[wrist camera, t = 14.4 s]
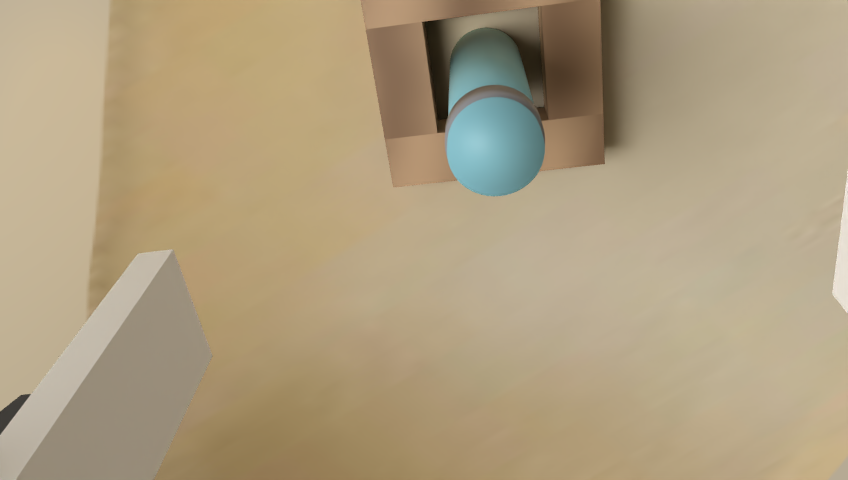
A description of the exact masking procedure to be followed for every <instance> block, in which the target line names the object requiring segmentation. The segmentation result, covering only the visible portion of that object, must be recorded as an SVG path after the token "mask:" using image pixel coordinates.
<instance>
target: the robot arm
mask: <svg viewBox="0 0 848 480" xmlns="http://www.w3.org/2000/svg"><path fill="white" fill-rule="evenodd" d="M832 294H833V296H834V297H835V298H836V299H837V301H838V302H839V303H840V304H841V306H842V307H843V308H844V310H845V311H846V312H847V313H848V173H847V181H846V189H845V197H844V205H843V213H842V221H841V229H840V236H839V244H838V252H837V260H836V268H835V276H834V284H833V292H832ZM211 358H212V353H211V351H210V348H209V345H208V343H207V340H206V337H205V334H204V332H203V329H202V326H201V323H200V321H199V318H198V315H197V313H196V310H195V307H194V304H193V302H192V299H191V296H190V294H189V291H188V288H187V285H186V283H185V280H184V277H183V275H182V272H181V269H180V266H179V264H178V261H177V258H176V256H175V253H174V250H173V249H172V250H163V251H155V252H147V253H138V254H137V256H136V257H135V258H134V259H133V261H132V262H131V263H130V265H129V266H128V267H127V269H126V270H125V271H124V273H123V274H122V275H121V277H120V278H119V279H118V281H117V282H116V283H115V284H114V286H113V287H112V288H111V290H110V291H109V292H108V294H107V295H106V296H105V298H104V299H103V300H102V302H101V303H100V304H99V306H98V307H97V308H96V309H95V311H94V312H93V313H92V315H91V316H90V317H89V319H88V320H87V321H86V323H85V324H84V325H83V327H82V328H81V329H80V331H79V332H78V333H77V334H76V336H75V337H74V339H73V340H72V341H71V342H70V344H69V345H68V346H67V348H66V349H65V350H64V352H63V353H62V354H61V356H60V357H59V358H58V360H57V361H56V362H55V363H54V365H53V366H52V367H51V369H50V370H49V371H48V373H47V374H46V375H45V377H44V378H43V379H42V381H41V382H40V383H39V385H38V386H37V387H36V388H35V390H34V391H33V392H32V394H27V395H21V396H19V397H18V398H17V399H16V400H14V401H13V402H12V403H10V404H9V405H8V406H7V407H5V408H4V409H3V410H2V411H0V480H154V478H155V476H156V474H157V472H158V470H159V468H160V465H161V463H162V461H163V459H164V457H165V455H166V453H167V451H168V449H169V446H170V444H171V442H172V440H173V438H174V436H175V434H176V432H177V430H178V427H179V425H180V423H181V421H182V419H183V417H184V415H185V413H186V411H187V408H188V406H189V404H190V402H191V400H192V398H193V396H194V394H195V392H196V389H197V387H198V385H199V383H200V381H201V379H202V377H203V375H204V373H205V370H206V368H207V366H208V364H209V362H210V360H211Z"/></svg>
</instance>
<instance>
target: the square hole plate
mask: <svg viewBox="0 0 848 480" xmlns="http://www.w3.org/2000/svg"><path fill="white" fill-rule="evenodd" d="M361 5H362V10H363V16H364V22H365V28H366V33H367V39H368V45H369V51H370V56H371V62H372V68H373V73H374V79H375V85H376V91H377V96H378V102H379V108H380V114H381V119H382V125H383V131H384V137H385V142H386V148H387V154H388V160H389V165H390V171H391V177H392V183H393V187H401V186H410V185H419V184H428V183H437V182H446V181H455V180H457V179H456V177H455V176H454V174H453V173H452V171H451V169H450V166H449V163H448V158H447V155H446V151H445V126H446V121H447V119H443V120H438V114H437V107H436V99H435V92H434V85H433V77H432V70H431V63H430V55H429V48H428V41H427V33H426V26H425V21H432V20H440V19H447V18H455V17H462V16H470V15H477V14H485V13H492V12H500V11H507V10H515V9H522V8H529V7H537V6H538V16H539V31H540V47H541V62H542V77H543V93H544V107H543V108H537V110H538V112H539V115H540V118H541V121H542V125H543V128H544V133H545V155H544V160H543V163H542V166H541V168H540V170H539V171H545V170H554V169H563V168H572V167H581V166H590V165H598V164H605V158H604V120H603V82H602V44H601V6H600V0H361Z"/></svg>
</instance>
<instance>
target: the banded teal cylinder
mask: <svg viewBox="0 0 848 480" xmlns="http://www.w3.org/2000/svg"><path fill="white" fill-rule="evenodd" d="M445 151H446V155H447V158H448V163H449V166H450V169H451V171H452V173H453V174H454V176H455V177H456V179H457V180H458V181H459V182H460V183H461V184H462V185H463V186H465V187H466V188H468V189H469V190H471V191H473V192H475V193H478V194H481V195H486V196H502V195H508V194H511V193H514V192H516V191H518V190H520V189H522V188H524V187H525V186H526V185H528V184H529V183H530V182H531V181H532V180H533V179H534V178H535V176H536V175H537V173H538V172H539V170H540V168H541V166H542V163H543V160H544V155H545V133H544V128H543V125H542V121H541V118H540V115H539V112H538V110H537V108H536V107H535V105H534V103H533V99H532V96H531V92H530V88H529V85H528V81H527V78H526V74H525V71H524V67H523V63H522V60H521V56H520V53H519V50H518V47H517V45H516V44H515V42H514V41H513V40H512V38H510V37H509V36H508V35H507V34H505V33H504V32H502V31H500V30H497V29H493V28H480V29H476V30H473V31H471V32H469V33H467V34H466V35H464V36H463V37H462V38H461V39H460V40H459V41H458V42H457V44H456V45H455V47H454V49H453V51H452V54H451V58H450V78H449V107H448V118H447V121H446V126H445Z"/></svg>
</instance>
